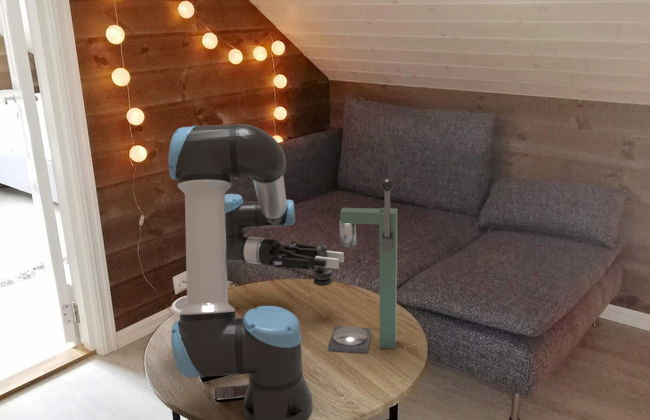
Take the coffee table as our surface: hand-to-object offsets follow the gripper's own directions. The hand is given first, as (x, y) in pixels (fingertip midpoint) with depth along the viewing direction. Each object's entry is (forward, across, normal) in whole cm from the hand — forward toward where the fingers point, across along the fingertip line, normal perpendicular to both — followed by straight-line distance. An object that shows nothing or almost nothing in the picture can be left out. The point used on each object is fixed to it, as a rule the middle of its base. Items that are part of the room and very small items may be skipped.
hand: (340, 260), depth 156 cm
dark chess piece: (-5, 0, -7) cm, 9 cm away
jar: (-30, +26, -19) cm, 44 cm away
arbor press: (+9, +8, -19) cm, 22 cm away
